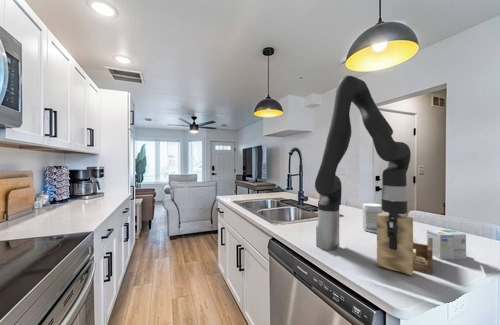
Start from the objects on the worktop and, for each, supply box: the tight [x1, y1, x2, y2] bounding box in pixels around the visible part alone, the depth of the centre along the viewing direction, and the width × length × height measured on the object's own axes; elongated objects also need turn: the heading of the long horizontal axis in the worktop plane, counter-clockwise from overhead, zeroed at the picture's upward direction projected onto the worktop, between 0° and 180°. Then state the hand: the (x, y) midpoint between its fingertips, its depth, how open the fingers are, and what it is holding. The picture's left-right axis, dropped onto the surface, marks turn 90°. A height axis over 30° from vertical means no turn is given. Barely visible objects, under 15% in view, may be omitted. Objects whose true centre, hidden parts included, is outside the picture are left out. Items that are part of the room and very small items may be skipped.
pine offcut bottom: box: [413, 256, 425, 264], centre depth 79 cm, size 12×4×3 cm, turn 49°
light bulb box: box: [426, 228, 467, 260], centre depth 85 cm, size 11×7×11 cm, turn 92°
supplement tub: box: [362, 202, 383, 234], centre depth 119 cm, size 10×10×15 cm
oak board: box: [376, 212, 414, 276], centre depth 74 cm, size 10×4×18 cm, turn 49°
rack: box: [413, 238, 434, 275], centre depth 82 cm, size 16×15×9 cm
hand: (394, 246), depth 74 cm, fingers closed on oak board, 4 cm apart
